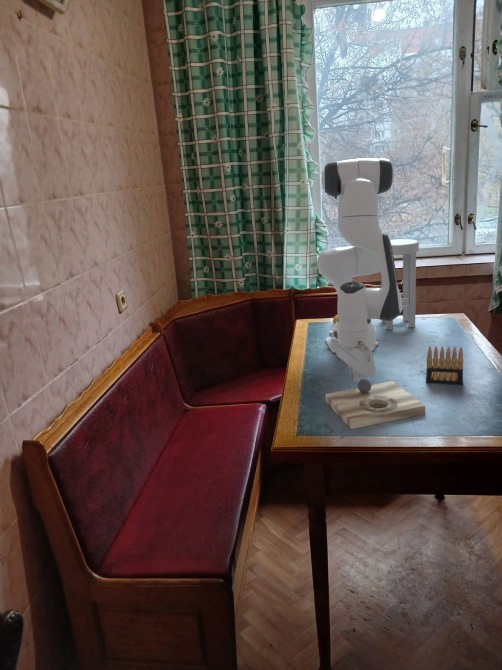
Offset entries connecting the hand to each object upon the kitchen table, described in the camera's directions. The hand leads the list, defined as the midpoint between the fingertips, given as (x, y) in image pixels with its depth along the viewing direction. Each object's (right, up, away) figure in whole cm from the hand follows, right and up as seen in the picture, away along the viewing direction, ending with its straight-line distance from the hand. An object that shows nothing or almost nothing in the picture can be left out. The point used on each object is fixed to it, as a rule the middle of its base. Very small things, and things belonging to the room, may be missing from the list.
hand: (354, 379), depth 152 cm
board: (+3, -7, -10) cm, 13 cm away
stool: (+31, +18, +58) cm, 68 cm away
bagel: (+9, +17, +63) cm, 66 cm away
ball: (+2, -1, -6) cm, 7 cm away
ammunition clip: (+28, -1, +1) cm, 28 cm away
